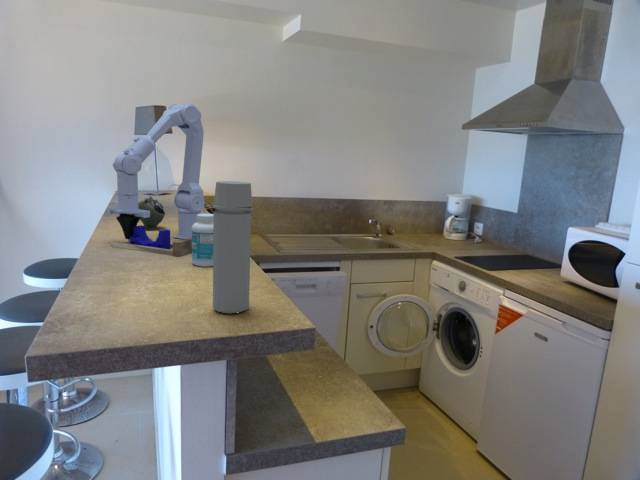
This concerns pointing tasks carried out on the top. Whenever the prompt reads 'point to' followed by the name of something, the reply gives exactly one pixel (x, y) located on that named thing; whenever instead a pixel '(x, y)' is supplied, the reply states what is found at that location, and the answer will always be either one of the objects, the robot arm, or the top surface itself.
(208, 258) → the pill bottle
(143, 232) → the blue cradle block
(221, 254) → the water bottle
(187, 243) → the guide channel
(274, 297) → the top surface
